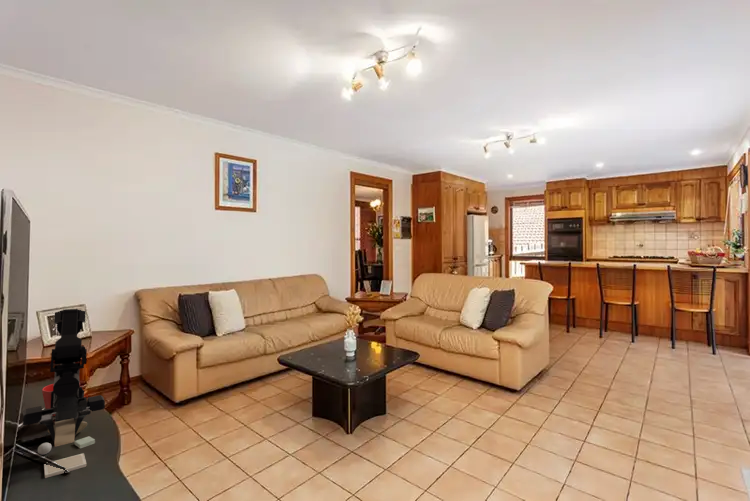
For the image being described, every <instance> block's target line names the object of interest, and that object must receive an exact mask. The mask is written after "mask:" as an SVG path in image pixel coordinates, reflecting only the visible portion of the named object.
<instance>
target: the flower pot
mask: <svg viewBox="0 0 750 501" xmlns="http://www.w3.org/2000/svg"><path fill="white" fill-rule="evenodd" d="M53 386H54V383H51V384H48V385H46V386H44V387H43V388H42V390H41V393H42V398H43V403H44V408H45V409H49V408H51V391H53ZM53 403H54V402H53ZM52 417H55V414H54V415H52Z"/></svg>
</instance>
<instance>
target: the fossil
mask: <svg viewBox="0 0 750 501" xmlns="http://www.w3.org/2000/svg"><path fill="white" fill-rule="evenodd" d="M53 425H54V424H53ZM87 426H88V422H86V421H83V420H82V422H81V424H80V426H79V429H78V431H77V433H76V435H77V434H79V433H80V432H81V431H83V430H84V429H85V428H86V427H87ZM54 428H55V425H54ZM47 433H49V434H50V432H49V430H48V429H47Z"/></svg>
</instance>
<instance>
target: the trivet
mask: <svg viewBox="0 0 750 501" xmlns="http://www.w3.org/2000/svg"><path fill="white" fill-rule="evenodd" d="M53 461H54V462H56V463H57V464H59V465H61V466H63V467H65V468H66V469H65V470H68V471H69V472H72V471H76V470H79V469H82V468H85V467H87V460H86V457H85V453H84V452H82V453H80V454H79V453H78V454H76V455H71V456H68V457H65V458H64V457H63V458H60V459H56V460H53ZM65 470H63V469H60V468H56V467H53V466H50V465H46V464H43V471H44V478H45V479H47V478H51V477H54V476H58V475H61V474H64V471H65Z"/></svg>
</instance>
